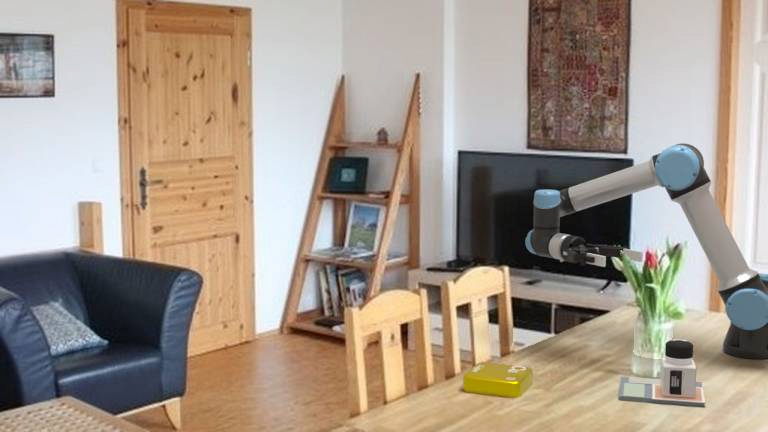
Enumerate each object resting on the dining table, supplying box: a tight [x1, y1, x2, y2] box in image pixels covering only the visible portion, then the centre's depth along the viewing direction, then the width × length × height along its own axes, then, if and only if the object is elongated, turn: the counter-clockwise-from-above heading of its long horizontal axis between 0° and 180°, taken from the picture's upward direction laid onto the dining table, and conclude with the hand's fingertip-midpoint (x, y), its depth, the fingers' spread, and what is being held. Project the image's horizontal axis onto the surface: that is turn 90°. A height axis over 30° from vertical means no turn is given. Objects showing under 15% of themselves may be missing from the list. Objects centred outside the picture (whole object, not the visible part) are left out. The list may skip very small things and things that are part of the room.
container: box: [660, 339, 697, 398], centre depth 252 cm, size 8×8×13 cm
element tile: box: [462, 361, 533, 399], centre depth 262 cm, size 15×15×5 cm
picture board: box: [618, 376, 706, 407], centre depth 256 cm, size 20×18×1 cm
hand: (623, 259), depth 274 cm, fingers open, 13 cm apart
